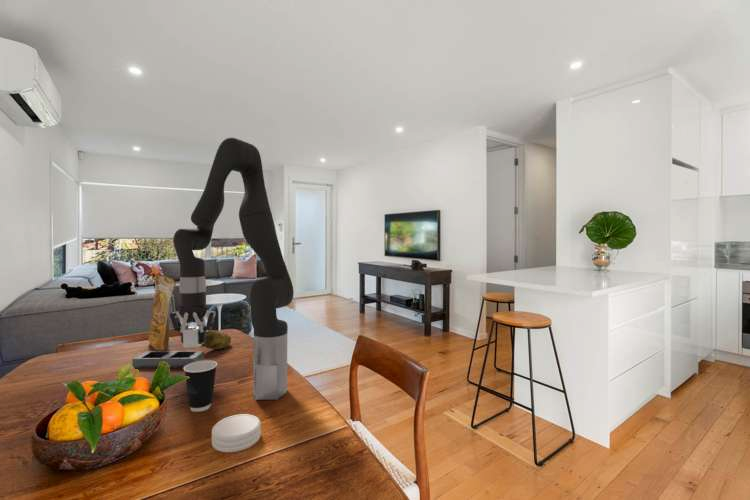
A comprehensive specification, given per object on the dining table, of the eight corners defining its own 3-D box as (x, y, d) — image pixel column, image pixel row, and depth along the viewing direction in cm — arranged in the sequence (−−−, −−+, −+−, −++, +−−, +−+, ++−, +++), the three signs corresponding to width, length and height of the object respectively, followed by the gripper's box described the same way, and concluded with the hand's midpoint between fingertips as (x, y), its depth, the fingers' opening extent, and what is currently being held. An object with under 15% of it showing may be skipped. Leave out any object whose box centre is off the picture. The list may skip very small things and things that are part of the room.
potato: (237, 347, 140) (237, 327, 140) (205, 355, 131) (205, 334, 130) (227, 343, 146) (227, 324, 145) (195, 350, 136) (195, 330, 136)
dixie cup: (220, 398, 96) (220, 359, 96) (214, 412, 88) (214, 369, 88) (188, 401, 94) (188, 361, 94) (179, 416, 86) (179, 372, 86)
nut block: (198, 347, 111) (197, 329, 110) (183, 347, 110) (182, 329, 110) (204, 343, 115) (203, 325, 115) (189, 343, 115) (189, 326, 115)
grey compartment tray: (194, 367, 118) (194, 358, 118) (132, 368, 117) (132, 358, 117) (204, 359, 126) (204, 350, 126) (146, 360, 125) (146, 351, 125)
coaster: (245, 423, 84) (245, 408, 84) (269, 438, 78) (269, 423, 78) (203, 441, 76) (203, 425, 76) (226, 460, 70) (226, 443, 70)
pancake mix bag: (163, 339, 151) (163, 274, 150) (177, 349, 137) (176, 278, 136) (145, 342, 146) (145, 275, 145) (157, 353, 132) (157, 279, 131)
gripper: (163, 292, 108) (164, 347, 108) (211, 291, 109) (212, 346, 109) (175, 289, 116) (176, 340, 116) (220, 288, 117) (221, 339, 117)
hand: (193, 343), depth 113 cm, fingers closed on nut block, 4 cm apart
